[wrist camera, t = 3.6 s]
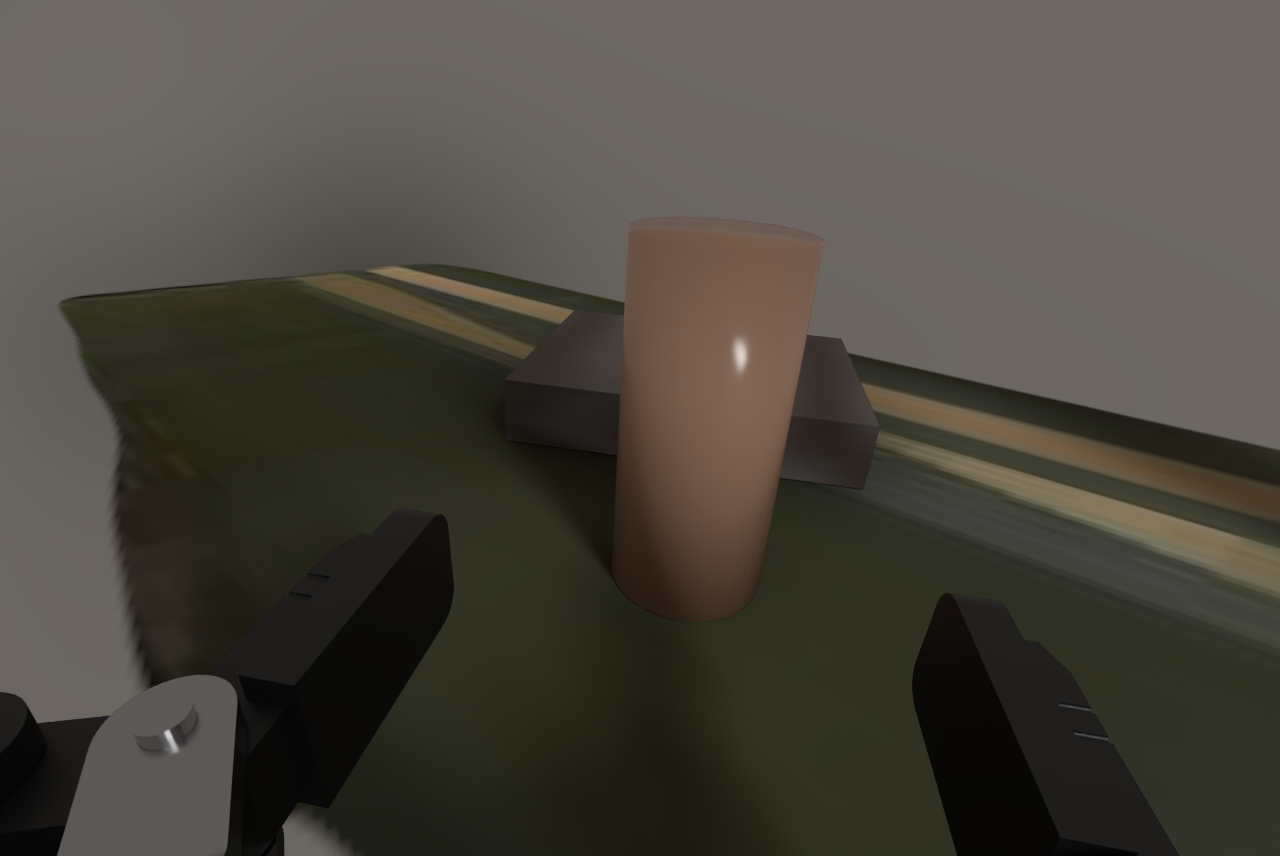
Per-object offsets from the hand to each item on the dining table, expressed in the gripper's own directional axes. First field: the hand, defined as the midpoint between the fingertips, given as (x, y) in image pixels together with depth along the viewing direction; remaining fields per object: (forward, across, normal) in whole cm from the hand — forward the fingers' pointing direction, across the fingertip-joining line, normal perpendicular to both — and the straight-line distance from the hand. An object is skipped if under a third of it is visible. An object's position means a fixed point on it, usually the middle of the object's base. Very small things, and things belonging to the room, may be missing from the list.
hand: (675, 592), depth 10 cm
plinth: (+22, +1, +6) cm, 23 cm away
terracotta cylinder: (+9, 0, +6) cm, 11 cm away
